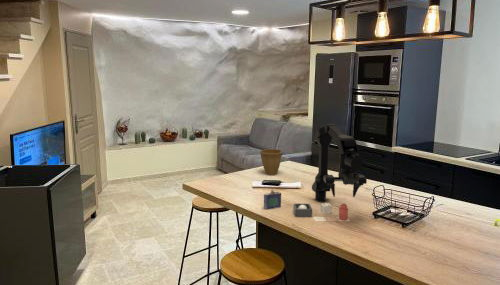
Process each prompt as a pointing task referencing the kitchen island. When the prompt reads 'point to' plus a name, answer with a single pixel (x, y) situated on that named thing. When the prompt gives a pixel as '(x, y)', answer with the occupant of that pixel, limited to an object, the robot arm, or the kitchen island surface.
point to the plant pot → (271, 160)
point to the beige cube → (326, 208)
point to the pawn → (343, 212)
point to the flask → (272, 200)
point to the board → (328, 219)
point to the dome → (302, 207)
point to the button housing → (302, 210)
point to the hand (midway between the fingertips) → (343, 196)
